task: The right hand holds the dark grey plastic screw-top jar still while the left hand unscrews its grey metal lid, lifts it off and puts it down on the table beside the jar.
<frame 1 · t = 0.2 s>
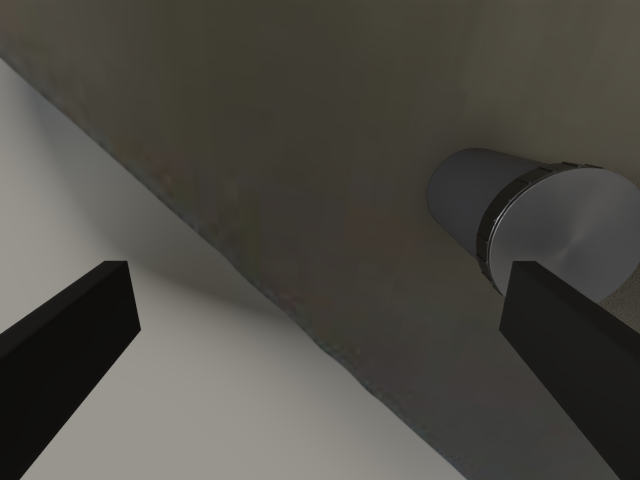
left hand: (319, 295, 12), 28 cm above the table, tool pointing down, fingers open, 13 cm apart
lid: (565, 245, 24), point 16 cm above the table, screwed on, not yet turned
screw-top jar: (469, 192, 40), on the table
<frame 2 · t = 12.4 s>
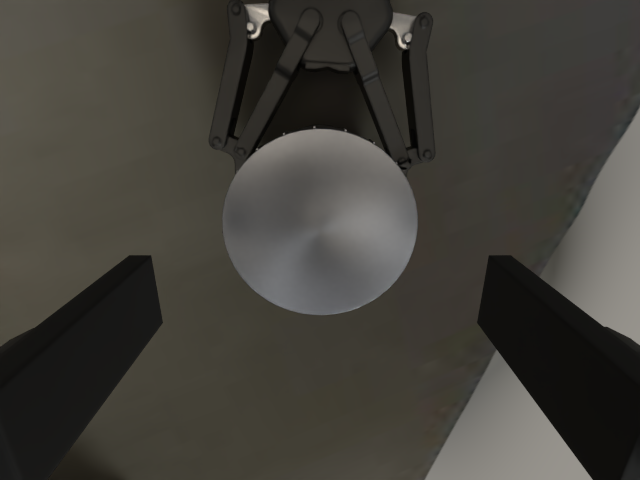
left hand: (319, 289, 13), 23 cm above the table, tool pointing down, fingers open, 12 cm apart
right hand: (316, 240, 30), fingers closed on screw-top jar, 9 cm apart
lid: (320, 228, 19), point 16 cm above the table, screwed on, not yet turned
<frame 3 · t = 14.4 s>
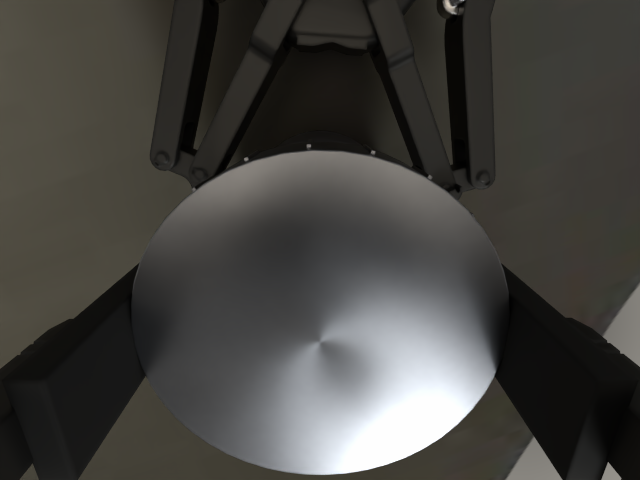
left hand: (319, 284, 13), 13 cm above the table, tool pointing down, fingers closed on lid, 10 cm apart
lid: (320, 334, 10), point 16 cm above the table, screwed on, not yet turned, touching left hand
screw-top jar: (320, 199, 26), on the table, touching right hand
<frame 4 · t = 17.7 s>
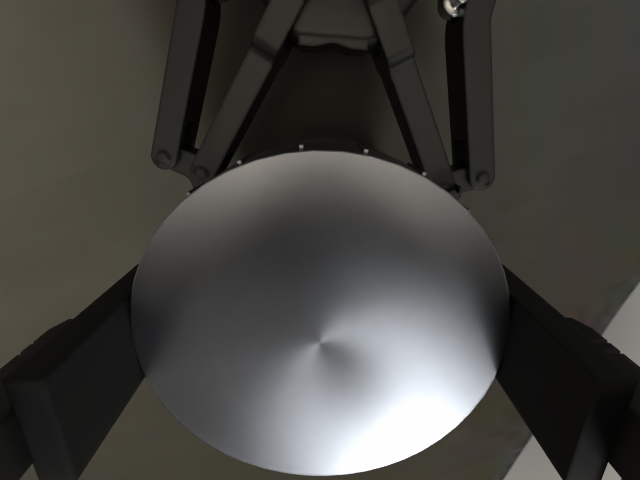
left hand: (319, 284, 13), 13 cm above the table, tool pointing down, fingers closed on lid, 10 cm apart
lid: (320, 335, 10), point 17 cm above the table, turned 105° so far, risen 0.1 cm, still on its thread, touching left hand
screw-top jar: (320, 199, 26), on the table, touching right hand
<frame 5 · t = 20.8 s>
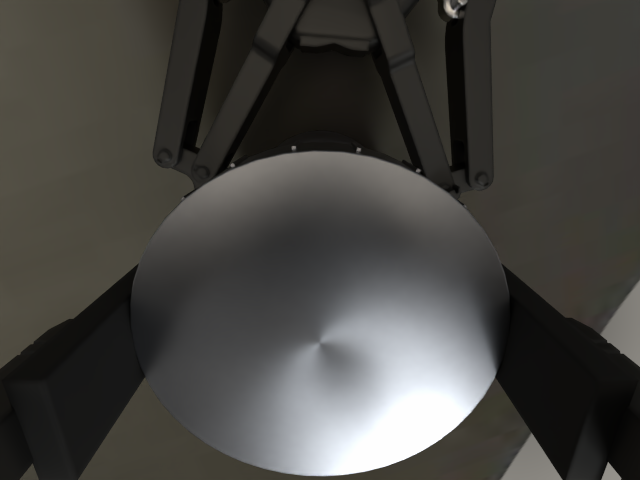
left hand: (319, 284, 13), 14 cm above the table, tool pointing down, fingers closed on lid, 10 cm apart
lid: (320, 335, 10), point 17 cm above the table, turned 210° so far, risen 0.3 cm, still on its thread, touching left hand
screw-top jar: (320, 198, 26), on the table, touching right hand
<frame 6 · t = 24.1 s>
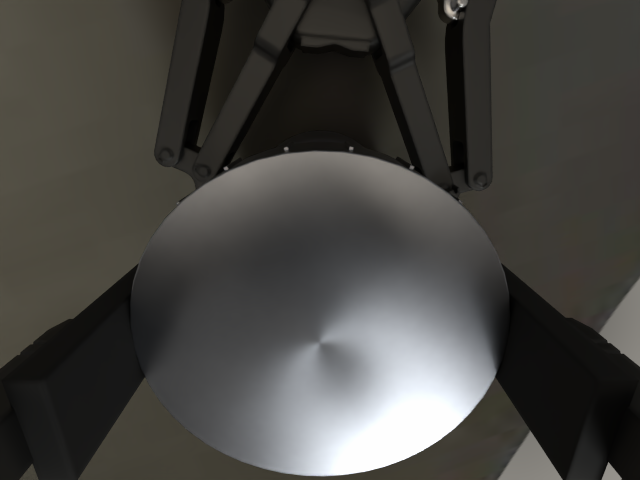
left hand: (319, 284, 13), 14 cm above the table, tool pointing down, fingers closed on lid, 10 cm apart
right hand: (314, 294, 22), fingers closed on screw-top jar, 9 cm apart
lid: (319, 335, 10), point 17 cm above the table, turned 315° so far, risen 0.4 cm, still on its thread, touching left hand
screw-top jar: (320, 198, 26), on the table, touching right hand
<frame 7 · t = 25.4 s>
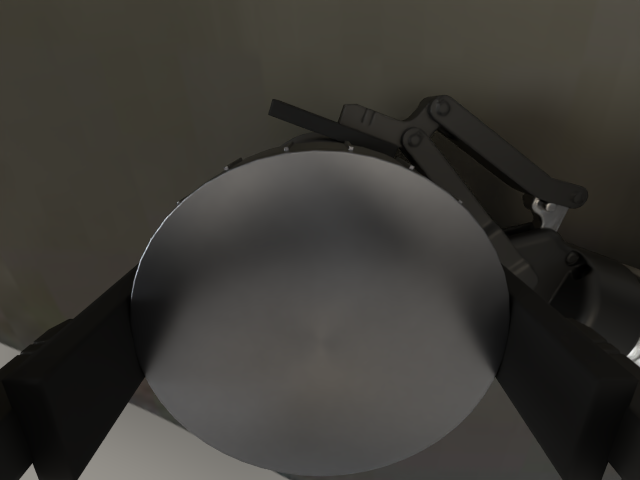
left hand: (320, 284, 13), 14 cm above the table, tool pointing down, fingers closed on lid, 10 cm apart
right hand: (247, 199, 20), fingers closed on screw-top jar, 9 cm apart
lid: (320, 335, 10), point 17 cm above the table, off its thread, touching left hand
screw-top jar: (321, 198, 27), on the table, touching right hand
when the left hand's fingers open (0 cm above the table, at t = 31.1 s): lid drops 2 cm, point 2 cm above the table.
when the right hand's fingers open (6 cm above the table, at t = 32.1 s): screw-top jar stays where it is, on the table.
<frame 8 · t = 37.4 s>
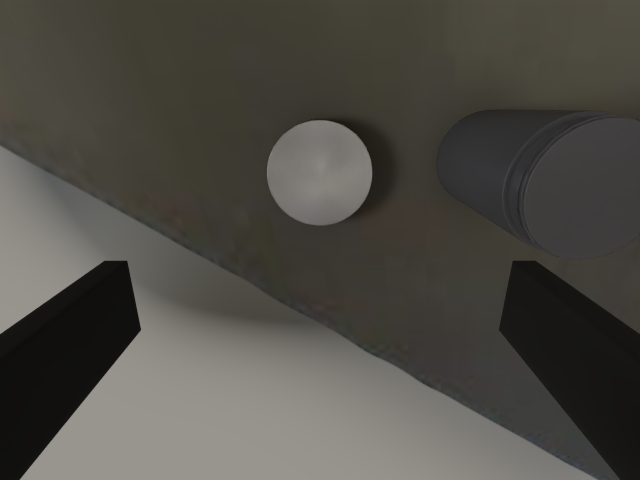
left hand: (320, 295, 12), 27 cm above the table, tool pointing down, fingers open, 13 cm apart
lid: (319, 174, 36), point 2 cm above the table, off its thread
screw-top jar: (482, 158, 37), on the table
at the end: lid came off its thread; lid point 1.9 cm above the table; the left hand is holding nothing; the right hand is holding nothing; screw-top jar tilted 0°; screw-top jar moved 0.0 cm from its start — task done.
